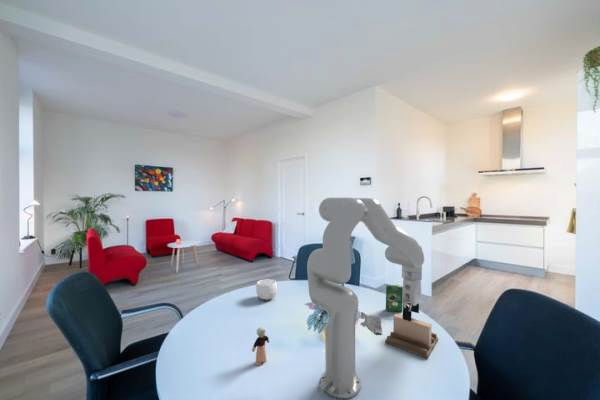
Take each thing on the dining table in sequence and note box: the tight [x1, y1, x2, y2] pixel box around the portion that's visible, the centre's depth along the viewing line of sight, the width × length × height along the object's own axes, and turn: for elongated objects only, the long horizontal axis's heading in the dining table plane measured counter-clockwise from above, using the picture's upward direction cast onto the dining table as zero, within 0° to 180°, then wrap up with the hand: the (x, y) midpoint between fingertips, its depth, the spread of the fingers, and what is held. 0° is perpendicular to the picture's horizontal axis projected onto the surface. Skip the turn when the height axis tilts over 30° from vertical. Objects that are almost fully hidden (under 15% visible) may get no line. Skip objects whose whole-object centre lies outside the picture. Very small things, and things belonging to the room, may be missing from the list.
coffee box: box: [385, 284, 403, 313], centre depth 133 cm, size 8×3×13 cm, turn 79°
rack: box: [384, 330, 439, 360], centre depth 105 cm, size 16×16×2 cm
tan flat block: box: [393, 313, 432, 345], centre depth 105 cm, size 3×14×8 cm, turn 49°
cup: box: [255, 278, 278, 301], centre depth 150 cm, size 12×12×10 cm
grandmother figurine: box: [251, 326, 271, 367], centre depth 94 cm, size 8×4×13 cm, turn 148°
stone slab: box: [359, 311, 383, 336], centre depth 120 cm, size 18×2×10 cm
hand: (410, 315), depth 104 cm, fingers open, 9 cm apart
